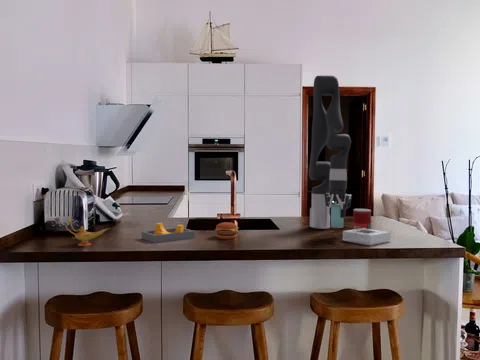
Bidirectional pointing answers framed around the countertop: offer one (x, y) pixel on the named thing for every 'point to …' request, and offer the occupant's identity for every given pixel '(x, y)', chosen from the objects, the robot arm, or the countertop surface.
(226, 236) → the hamburger
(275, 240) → the countertop surface
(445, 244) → the countertop surface
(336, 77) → the robot arm
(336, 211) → the teal cylinder
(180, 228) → the pipe clamp
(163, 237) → the tray
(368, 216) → the canned food
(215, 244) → the countertop surface
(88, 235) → the magic lamp
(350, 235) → the housing
